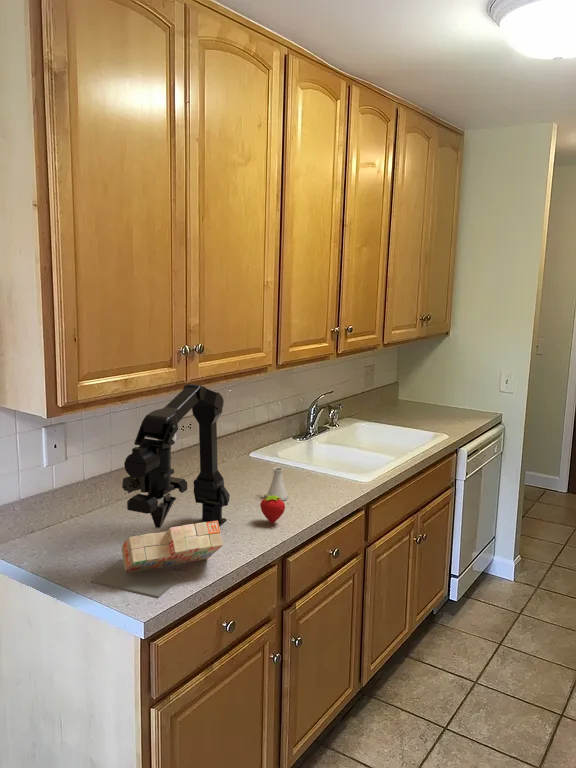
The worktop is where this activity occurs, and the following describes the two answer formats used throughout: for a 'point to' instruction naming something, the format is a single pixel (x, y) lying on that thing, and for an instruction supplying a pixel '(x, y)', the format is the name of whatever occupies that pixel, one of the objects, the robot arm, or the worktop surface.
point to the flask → (278, 485)
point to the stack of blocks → (172, 546)
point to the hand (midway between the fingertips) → (158, 527)
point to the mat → (139, 579)
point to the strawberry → (272, 508)
